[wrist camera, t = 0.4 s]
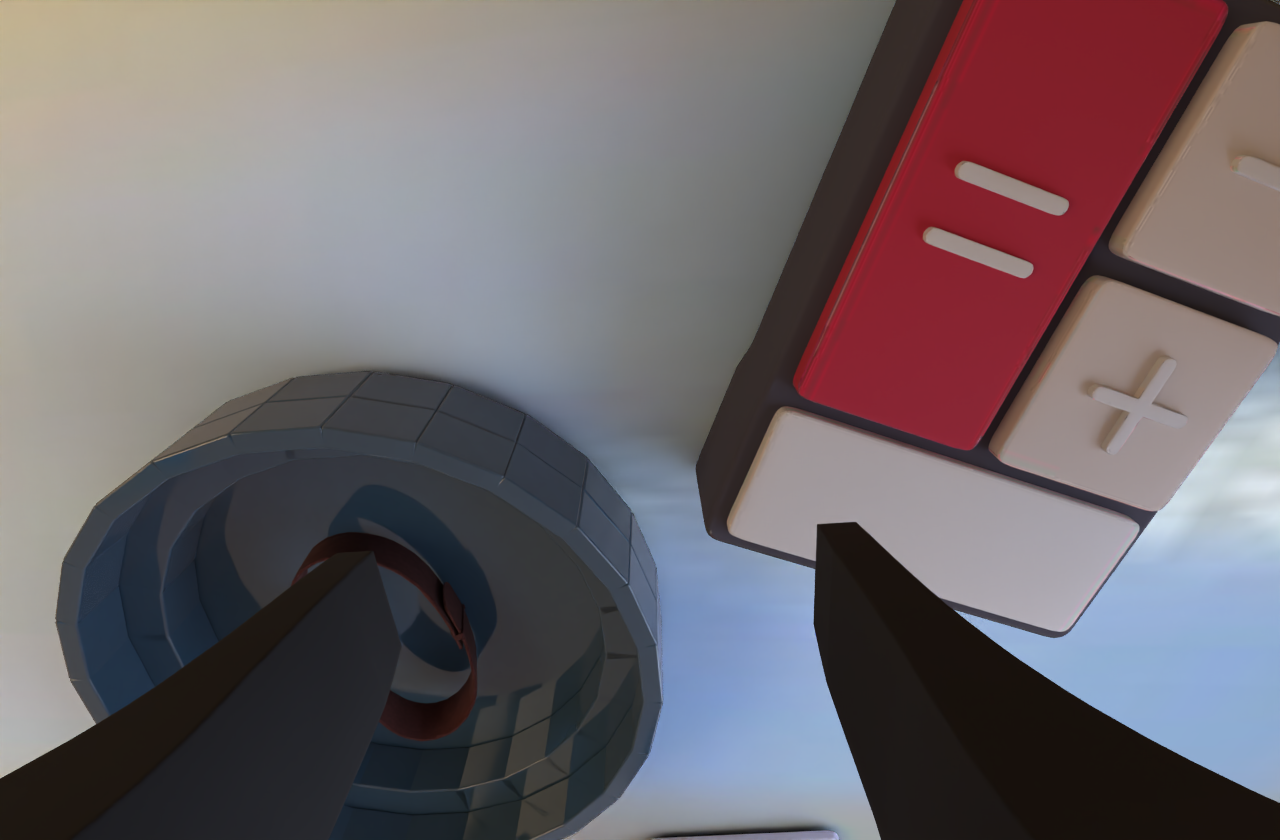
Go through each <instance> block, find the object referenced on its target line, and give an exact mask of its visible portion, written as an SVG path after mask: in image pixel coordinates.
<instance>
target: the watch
mask: <svg viewBox="0 0 1280 840" xmlns="http://www.w3.org/2000/svg"><path fill="white" fill-rule="evenodd" d="M362 551H373V552H374V555H375V558H376V562H377V565H378V566H381V567H383V568H386V569H388V570H391V571H393V572H394V573H396V574H398V575H400V576H402V577H403V578H404V579H406V580H407V581H409V582H410V583H412V584H413V585H414V586H416V587H417V588H418V589H419V590H420V591H421V592H422V594H423V595H424V596H425V597H426V598H427V599H428V601H429V602H430V603H431V604H432V605H433V607H434V608H435V609H436V610H437V612H438V613H439V614H440V615H441V617H442V618H443V620H444V622H445V623H446V625H447V626H448V628H449V629H450V633H451V635H452V637H453V638H454V639H455V641H456V643H457V645H458V647H459V649H463V644H464V646H465V649H466V652H467V655H468V659H469V663H470V667H471V673H470V675H469V677H468V679H467V681H466V683H465V684H464V685H463V686H462V688H461V689H460V690H459V691H458V692H457V693H455V694H454V695H452V696H451V697H449V698H448V699H446V700H443V701H439V702H436V703H418V702H414V701H410V700H407V699H405V698H403V697H401V696H400V695H398V694H396V693H394V692H392V691H391V690H390V692H389V695H388V699H387V702H386V705H385V708H384V710H383V713H382V715H381V718H380V720H379V723H381V724H382V725H383V726H385V727H386V728H387V729H388V730H390V731H391V732H393V733H395V734H396V735H398V736H401V737H403V738H406V739H411V740H417V741H430V740H436V739H439V738H441V737H444V736H447V735H449V734H451V733H452V732H454V731H455V730H457V729H458V728H459V727H460V726H461V725H462V723H463V722H464V721H465V720H466V719H467V717H468V716H469V714H470V712H471V710H472V708H473V706H474V704H475V701H476V697H477V655H476V645H475V640H474V636H473V632H472V629H471V626H470V623H469V620H468V617H467V615H466V612H465V608H466V607H465V605H464V604H461V602H460V600H459V598H458V596H457V595H456V593H455V592H454V590H453V588H452V587H451V585H450V583H448V582H445V583H444V585H443V583H442V582H441V581H440V580H439V578H438V577H437V576H436V575H435V573H434V572H433V571H432V570H431V568H430V567H429V566H428V565H427V564H426V563H425V562H424V561H423V560H422V559H420V558H419V557H418V556H417V555H416V554H415V553H413V552H412V551H410V550H409V549H407V548H406V547H404V546H402V545H401V544H399V543H397V542H395V541H393V540H390V539H388V538H385V537H382V536H378V535H373V534H369V533H359V532H346V533H340V534H336V535H333V536H330V537H327V538H325V539H324V540H322V541H320V542H319V543H318V544H317V545H315V546H314V547H313V548H312V550H311V551H310V553H309V554H308V556H307V557H306V559H305V560H304V562H303V564H302V565H301V567H300V568H299V570H298V572H297V573H296V575H295V577H294V579H293V581H292V583H291V586H292V585H293V584H295V583H296V582H297V581H299V580H300V579H301V578H303V577H304V576H305V575H307V572H308V568H310V567H312V566H313V565H315V564H317V563H320V562H323V561H326V560H327V559H329V558H330V557H332V556H333V555H335V554H336V553H345V552H362Z"/></svg>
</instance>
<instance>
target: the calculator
mask: <svg viewBox="0 0 1280 840" xmlns="http://www.w3.org/2000/svg"><path fill="white" fill-rule="evenodd" d="M1279 343H1280V5H1279V4H1276V3H1274V2H1272V1H1270V0H896V3H895V5H894V7H893V10H892V12H891V14H890V17H889V19H888V22H887V24H886V26H885V29H884V31H883V34H882V36H881V38H880V41H879V43H878V45H877V48H876V50H875V53H874V55H873V57H872V60H871V62H870V64H869V67H868V69H867V72H866V74H865V76H864V79H863V81H862V83H861V86H860V88H859V91H858V93H857V95H856V98H855V100H854V103H853V105H852V107H851V110H850V112H849V114H848V117H847V119H846V122H845V124H844V126H843V129H842V131H841V133H840V136H839V138H838V141H837V143H836V145H835V148H834V150H833V153H832V155H831V157H830V160H829V162H828V164H827V167H826V169H825V172H824V174H823V176H822V179H821V181H820V183H819V186H818V188H817V191H816V193H815V195H814V198H813V200H812V202H811V205H810V207H809V210H808V212H807V214H806V217H805V219H804V222H803V224H802V226H801V229H800V231H799V233H798V236H797V238H796V241H795V243H794V245H793V248H792V250H791V252H790V255H789V257H788V260H787V262H786V264H785V267H784V269H783V272H782V274H781V276H780V279H779V281H778V283H777V286H776V288H775V291H774V293H773V295H772V298H771V300H770V302H769V305H768V307H767V310H766V312H765V314H764V317H763V319H762V322H761V324H760V326H759V329H758V331H757V333H756V336H755V338H754V340H753V343H752V344H751V346H750V348H749V349H748V351H747V352H746V354H745V355H744V357H743V358H742V360H741V362H740V363H739V365H738V366H737V368H736V370H735V373H734V375H733V377H732V380H731V382H730V384H729V387H728V389H727V391H726V394H725V396H724V399H723V401H722V403H721V406H720V408H719V411H718V413H717V415H716V418H715V420H714V423H713V425H712V427H711V430H710V432H709V434H708V437H707V439H706V442H705V444H704V446H703V449H702V451H701V454H700V456H699V459H698V461H697V464H696V475H697V482H698V488H699V494H700V500H701V506H702V512H703V518H704V523H705V528H706V531H707V533H708V534H709V535H710V536H711V537H712V538H714V539H716V540H719V541H722V542H725V543H728V544H732V545H735V546H738V547H742V548H745V549H749V550H752V551H756V552H759V553H762V554H766V555H769V556H773V557H776V558H779V559H783V560H786V561H790V562H793V563H796V564H800V565H803V566H807V567H810V568H814V569H815V568H816V537H817V524H826V523H843V522H857V523H858V524H859V525H860V526H861V527H862V528H863V529H864V530H865V531H867V532H868V533H869V534H870V535H871V536H872V537H873V538H874V539H875V540H876V541H877V542H878V543H879V544H880V545H881V546H882V547H884V548H885V549H886V550H887V551H888V552H889V553H890V554H891V555H892V556H893V557H894V558H895V559H896V560H897V561H898V562H900V563H901V564H902V565H903V566H904V567H905V568H906V569H907V570H908V571H909V572H910V573H912V574H913V575H914V576H915V577H916V578H917V579H918V580H919V581H920V582H922V583H923V584H924V585H925V586H926V587H927V588H928V589H930V590H931V591H932V592H933V593H934V594H935V595H937V596H938V597H939V598H940V599H941V600H942V601H944V602H945V603H946V604H947V605H948V606H949V607H951V608H952V609H953V610H957V611H960V612H964V613H967V614H971V615H974V616H977V617H981V618H984V619H988V620H991V621H994V622H998V623H1001V624H1005V625H1008V626H1011V627H1015V628H1018V629H1022V630H1025V631H1029V632H1032V633H1035V634H1039V635H1042V636H1046V637H1051V638H1058V637H1062V636H1064V635H1066V634H1067V633H1069V632H1070V631H1071V629H1072V628H1073V627H1074V626H1075V624H1076V623H1077V622H1078V620H1079V619H1080V617H1081V616H1082V615H1083V613H1084V612H1085V610H1086V609H1087V608H1088V606H1089V605H1090V604H1091V602H1092V601H1093V599H1094V598H1095V597H1096V595H1097V594H1098V593H1099V591H1100V590H1101V588H1102V587H1103V586H1104V584H1105V583H1106V582H1107V580H1108V579H1109V577H1110V576H1111V575H1112V573H1113V572H1114V571H1115V569H1116V568H1117V566H1118V565H1119V564H1120V562H1121V561H1122V559H1123V558H1124V557H1125V555H1126V554H1127V553H1128V551H1129V550H1130V548H1131V547H1132V546H1133V544H1134V543H1135V542H1136V540H1137V539H1138V537H1139V536H1140V535H1141V533H1142V532H1143V531H1144V529H1145V528H1146V526H1147V525H1148V524H1149V522H1150V521H1151V519H1152V518H1153V517H1154V515H1155V514H1156V513H1157V511H1159V510H1161V509H1162V508H1163V507H1164V506H1165V505H1166V504H1167V503H1168V502H1169V501H1170V499H1171V498H1172V497H1173V495H1174V494H1175V493H1176V491H1177V490H1178V488H1179V487H1180V486H1181V484H1182V483H1183V482H1184V480H1185V479H1186V478H1187V476H1188V475H1189V473H1190V472H1191V471H1192V469H1193V468H1194V467H1195V465H1196V464H1197V462H1198V461H1199V460H1200V458H1201V457H1202V456H1203V454H1204V453H1205V451H1206V450H1207V449H1208V447H1209V446H1210V445H1211V443H1212V442H1213V440H1214V439H1215V438H1216V436H1217V435H1218V434H1219V432H1220V431H1221V429H1222V428H1223V427H1224V425H1225V424H1226V423H1227V421H1228V420H1229V418H1230V417H1231V416H1232V414H1233V413H1234V412H1235V410H1236V409H1237V407H1238V406H1239V405H1240V403H1241V402H1242V401H1243V399H1244V398H1245V397H1246V395H1247V394H1248V392H1249V391H1250V390H1251V388H1252V387H1253V386H1254V384H1255V383H1256V381H1257V380H1258V379H1259V377H1260V376H1261V375H1262V373H1263V372H1264V370H1265V369H1266V368H1267V366H1268V365H1269V364H1270V362H1271V361H1272V359H1273V357H1274V355H1275V354H1276V352H1277V348H1278V344H1279Z"/></svg>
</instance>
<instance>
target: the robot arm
mask: <svg viewBox="0 0 1280 840" xmlns="http://www.w3.org/2000/svg"><path fill="white" fill-rule="evenodd" d="M814 628H815V633H816V637H817V642H818V647H819V651H820V656H821V660H822V665H823V669H824V673H825V677H826V682H827V685H828V688H829V691H830V694H831V697H832V699H833V702H834V705H835V708H836V711H837V714H838V717H839V719H840V722H841V725H842V728H843V731H844V734H845V737H846V739H847V742H848V745H849V748H850V751H851V753H852V756H853V759H854V762H855V765H856V767H857V770H858V773H859V776H860V779H861V781H862V784H863V787H864V790H865V793H866V796H867V798H868V801H869V804H870V807H871V810H872V812H873V815H874V818H875V821H876V824H877V828H878V831H879V834H880V837H881V840H1280V803H1278V802H1276V801H1274V800H1271V799H1269V798H1267V797H1265V796H1263V795H1260V794H1258V793H1256V792H1254V791H1252V790H1250V789H1248V788H1246V787H1244V786H1242V785H1240V784H1237V783H1235V782H1233V781H1231V780H1229V779H1227V778H1225V777H1223V776H1221V775H1219V774H1217V773H1215V772H1213V771H1211V770H1209V769H1207V768H1205V767H1203V766H1201V765H1199V764H1197V763H1194V762H1192V761H1190V760H1188V759H1186V758H1185V757H1183V756H1181V755H1179V754H1177V753H1175V752H1173V751H1171V750H1169V749H1167V748H1165V747H1164V746H1162V745H1160V744H1158V743H1156V742H1154V741H1152V740H1150V739H1148V738H1147V737H1145V736H1143V735H1141V734H1139V733H1138V732H1136V731H1134V730H1132V729H1131V728H1129V727H1127V726H1125V725H1124V724H1122V723H1120V722H1118V721H1117V720H1115V719H1113V718H1111V717H1110V716H1108V715H1106V714H1104V713H1102V712H1101V711H1099V710H1097V709H1095V708H1094V707H1092V706H1090V705H1089V704H1087V703H1085V702H1084V701H1082V700H1081V699H1079V698H1077V697H1076V696H1074V695H1072V694H1071V693H1069V692H1067V691H1066V690H1064V689H1063V688H1061V687H1060V686H1058V685H1057V684H1055V683H1054V682H1052V681H1051V680H1049V679H1048V678H1046V677H1045V676H1043V675H1042V674H1040V673H1039V672H1037V671H1036V670H1034V669H1032V668H1031V667H1029V666H1028V665H1026V664H1025V663H1023V662H1022V661H1020V660H1019V659H1018V658H1016V657H1015V656H1013V655H1012V654H1011V653H1009V652H1008V651H1006V650H1005V649H1003V648H1002V647H1001V646H999V645H998V644H997V643H995V642H994V641H993V640H991V639H990V638H989V637H988V636H986V635H985V634H984V633H982V632H981V631H980V630H978V629H977V628H976V627H974V626H973V625H972V624H971V623H969V622H968V621H967V620H965V619H964V618H963V617H962V616H960V615H959V614H958V613H957V612H955V611H954V610H953V609H952V608H951V607H949V606H948V605H947V604H946V603H945V602H944V601H942V600H941V599H940V598H939V597H938V596H937V595H935V594H934V593H933V592H932V591H931V590H930V589H928V588H927V587H926V586H925V585H924V584H923V583H922V582H920V581H919V580H918V579H917V578H916V577H915V576H914V575H913V574H912V573H910V572H909V571H908V570H907V569H906V568H905V567H904V566H903V565H902V564H901V563H900V562H898V561H897V560H896V559H895V558H894V557H893V556H892V555H891V554H890V553H889V552H888V551H887V550H886V549H885V548H884V547H882V546H881V545H880V544H879V543H878V542H877V541H876V540H875V539H874V538H873V537H872V536H871V535H870V534H869V533H868V532H867V531H865V530H864V529H863V528H862V527H861V526H860V525H859V524H858V523H857V522H843V523H826V524H817V537H816V568H815V598H814ZM401 647H402V645H401V642H400V639H399V635H398V632H397V629H396V625H395V622H394V619H393V615H392V612H391V609H390V605H389V602H388V599H387V595H386V592H385V588H384V585H383V582H382V578H381V575H380V572H379V568H378V565H377V562H376V558H375V555H374V552H373V551H362V552H345V553H336V554H335V555H333V556H332V557H330V558H329V559H327V560H326V561H324V562H323V563H321V564H320V565H319V566H317V567H316V568H315V569H313V570H312V571H311V572H309V573H308V574H307V575H305V576H304V577H303V578H301V579H300V580H299V581H297V582H296V583H295V584H293V585H292V586H291V587H290V588H288V589H287V590H286V591H284V592H283V593H282V594H281V595H279V596H278V597H277V598H275V599H274V600H273V601H272V602H270V603H269V604H268V605H266V606H265V607H264V608H262V609H261V610H260V611H258V612H257V613H256V614H255V615H253V616H252V617H251V618H249V619H248V620H247V621H245V622H244V623H243V624H242V625H240V626H239V627H238V628H236V629H235V630H234V631H232V632H231V633H230V634H228V635H227V636H226V637H224V638H223V639H222V640H220V641H219V642H217V643H216V644H215V645H213V646H212V647H210V648H209V649H208V650H206V651H205V652H203V653H202V654H201V655H199V656H198V657H196V658H195V659H194V660H192V661H191V662H190V663H188V664H187V665H185V666H184V667H183V668H181V669H180V670H178V671H177V672H176V673H174V674H173V675H171V676H170V677H169V678H167V679H166V680H164V681H163V682H161V683H160V684H158V685H157V686H156V687H154V688H153V689H151V690H150V691H148V692H147V693H145V694H144V695H142V696H140V697H139V698H137V699H136V700H134V701H133V702H131V703H130V704H128V705H127V706H125V707H123V708H122V709H120V710H119V711H117V712H115V713H114V714H112V715H110V716H109V717H107V718H106V719H104V720H102V721H101V722H99V723H98V724H96V725H94V726H93V727H91V728H89V729H88V730H86V731H85V732H83V733H81V734H79V735H78V736H76V737H74V738H73V739H71V740H69V741H68V742H66V743H64V744H62V745H60V746H59V747H57V748H55V749H53V750H51V751H50V752H48V753H46V754H44V755H42V756H40V757H39V758H37V759H35V760H33V761H31V762H30V763H28V764H26V765H24V766H22V767H20V768H19V769H17V770H15V771H13V772H11V773H10V774H8V775H6V776H4V777H2V778H1V779H0V840H329V838H330V835H331V833H332V831H333V828H334V826H335V824H336V821H337V819H338V817H339V814H340V812H341V810H342V807H343V805H344V803H345V800H346V798H347V796H348V793H349V791H350V789H351V786H352V784H353V782H354V779H355V777H356V775H357V772H358V770H359V768H360V765H361V763H362V761H363V758H364V756H365V754H366V751H367V749H368V747H369V744H370V742H371V739H372V737H373V735H374V732H375V730H376V727H377V725H378V723H379V720H380V718H381V715H382V713H383V710H384V708H385V705H386V702H387V699H388V695H389V692H390V689H391V685H392V682H393V678H394V675H395V671H396V667H397V663H398V659H399V655H400V651H401ZM651 840H839V837H838V835H837V834H836V833H835V832H833V831H829V830H822V831H801V832H779V833H757V834H735V835H713V836H691V837H669V838H654V839H651Z"/></svg>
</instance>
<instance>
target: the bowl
mask: <svg viewBox="0 0 1280 840" xmlns="http://www.w3.org/2000/svg"><path fill="white" fill-rule="evenodd" d="M346 532H359V533H369V534H373V535H378V536H382V537H385V538H388V539H390V540H393V541H395V542H397V543H399V544H401V545H402V546H404V547H406V548H407V549H409V550H410V551H412V552H413V553H415V554H416V555H417V556H418V557H419V558H420V559H422V560H423V561H424V562H425V563H426V564H427V565H428V566H429V567H430V568H431V570H432V571H433V572H434V573H435V575H436V576H437V577H438V578H439V580H440V581H441V582H442V583H443V585H444V583H445V582H448V583H450V585H451V587H452V588H453V590H454V592H455V593H456V595H457V596H458V598H459V600H460V602H461V604H464V605H465V607H466V608H465V612H466V615H467V617H468V620H469V623H470V626H471V629H472V632H473V636H474V640H475V645H476V655H477V697H476V701H475V704H474V706H473V708H472V710H471V712H470V714H469V716H468V717H467V719H466V720H465V721H464V722H463V723H462V725H461V726H460V727H459V728H458V729H457V730H455V731H454V732H452V733H451V734H449V735H447V736H444V737H441V738H439V739H436V740H430V741H417V740H411V739H406V738H403V737H401V736H398V735H396V734H395V733H393V732H391V731H390V730H388V729H387V728H386V727H385V726H383V725H382V724H381V723H378V725H377V727H376V730H375V732H374V735H373V737H372V739H371V742H370V744H369V747H368V749H367V751H366V754H365V756H364V758H363V761H362V763H361V765H360V768H359V770H358V772H357V775H356V777H355V779H354V782H353V784H352V786H351V789H350V791H349V793H348V796H347V798H346V800H345V803H344V805H343V807H342V810H341V812H340V814H339V817H338V819H337V821H336V824H335V826H334V828H333V831H332V833H331V835H330V838H329V840H562V839H564V838H566V837H568V836H571V835H573V834H575V832H578V831H579V830H581V829H582V828H583V827H584V826H586V825H587V824H588V823H589V822H591V821H592V820H593V819H595V818H596V817H597V816H598V815H600V814H601V813H602V812H603V811H605V810H606V809H607V808H608V807H610V806H611V805H612V804H613V803H615V802H616V801H617V800H618V799H619V798H620V797H621V795H622V794H623V793H624V791H625V790H626V788H627V787H628V785H629V784H630V782H631V781H632V779H633V778H634V777H635V775H636V774H637V772H638V771H639V769H640V768H641V766H642V765H643V763H644V762H645V760H646V759H647V758H648V756H649V753H650V751H651V747H652V743H653V739H654V736H655V732H656V728H657V724H658V720H659V717H660V713H661V709H662V705H663V665H662V621H661V609H660V598H659V588H658V578H657V568H656V566H655V562H654V560H653V558H652V555H651V553H650V551H649V549H648V546H647V544H646V542H645V540H644V537H643V535H642V533H641V530H640V528H639V526H638V524H637V521H636V519H635V517H634V515H633V513H632V512H631V510H630V508H629V507H628V506H627V504H626V503H625V502H624V501H623V500H622V499H621V497H620V496H619V495H618V494H617V493H616V491H615V490H614V489H613V488H612V487H611V485H610V484H609V483H608V482H607V481H606V479H605V478H604V477H603V476H602V475H601V473H600V472H599V471H598V470H597V469H596V467H595V466H594V465H593V464H592V463H591V461H590V460H588V459H587V457H586V456H585V455H583V454H582V453H581V452H579V451H578V450H576V449H575V448H574V447H572V446H571V445H570V444H568V443H567V442H565V441H564V440H563V439H561V438H560V437H558V436H557V435H556V434H554V433H553V432H551V431H550V430H549V429H547V428H546V427H544V426H543V425H542V424H540V423H539V422H537V421H536V420H535V419H533V418H532V417H531V416H529V415H525V414H524V413H522V412H520V411H517V410H515V409H512V408H510V407H508V406H505V405H503V404H500V403H498V402H495V401H493V400H490V399H488V398H486V397H483V396H481V395H478V394H476V393H473V392H471V391H469V390H466V389H464V388H461V387H459V386H456V385H453V386H452V385H451V384H450V383H444V382H438V381H431V380H425V379H419V378H413V377H407V376H401V375H394V374H388V373H382V372H372V371H363V372H350V373H338V374H325V375H313V376H300V377H296V378H290V379H288V380H285V381H282V382H279V383H277V384H274V385H271V386H268V387H266V388H263V389H260V390H257V391H255V392H252V393H249V394H246V395H244V396H241V397H238V398H235V399H233V400H230V401H228V402H226V403H225V404H223V405H222V406H221V407H220V408H218V409H217V410H216V411H214V412H213V413H212V414H211V415H209V416H208V417H207V418H205V419H204V420H203V421H202V422H200V423H199V424H198V425H196V426H195V427H194V428H193V429H191V430H190V431H189V432H187V433H186V434H185V435H184V436H182V437H181V438H180V439H178V440H177V441H176V442H174V443H173V444H172V445H171V446H169V447H168V448H167V449H165V450H164V451H163V452H162V453H160V454H159V455H158V456H156V457H155V458H154V459H153V460H151V461H150V462H149V463H147V464H146V465H145V466H144V467H142V468H141V469H140V470H138V471H137V472H136V473H135V474H133V475H132V476H131V477H130V478H128V479H127V480H126V481H124V482H123V483H122V484H121V485H119V486H118V487H117V488H115V489H114V490H113V491H112V492H110V493H109V494H108V495H106V496H105V497H104V498H103V499H101V500H100V501H99V502H97V503H96V505H95V506H94V507H93V509H92V511H91V512H90V514H89V516H88V517H87V519H86V521H85V523H84V524H83V526H82V528H81V529H80V531H79V533H78V535H77V536H76V538H75V540H74V541H73V543H72V545H71V547H70V548H69V550H68V552H67V553H66V555H65V557H64V559H63V560H64V561H63V562H62V568H61V576H60V584H59V592H58V600H57V609H56V617H55V619H56V622H55V623H56V627H57V631H58V635H59V639H60V643H61V647H62V651H63V655H64V659H65V663H66V667H67V671H68V675H69V678H70V681H71V683H72V685H73V686H74V688H75V690H76V691H77V693H78V695H79V696H80V698H81V700H82V701H83V703H84V705H85V706H86V708H87V710H88V711H89V713H90V715H91V716H92V718H93V720H94V721H95V723H96V724H98V723H99V722H101V721H102V720H104V719H106V718H107V717H109V716H110V715H112V714H114V713H115V712H117V711H119V710H120V709H122V708H123V707H125V706H127V705H128V704H130V703H131V702H133V701H134V700H136V699H137V698H139V697H140V696H142V695H144V694H145V693H147V692H148V691H150V690H151V689H153V688H154V687H156V686H157V685H158V684H160V683H161V682H163V681H164V680H166V679H167V678H169V677H170V676H171V675H173V674H174V673H176V672H177V671H178V670H180V669H181V668H183V667H184V666H185V665H187V664H188V663H190V662H191V661H192V660H194V659H195V658H196V657H198V656H199V655H201V654H202V653H203V652H205V651H206V650H208V649H209V648H210V647H212V646H213V645H215V644H216V643H217V642H219V641H220V640H222V639H223V638H224V637H226V636H227V635H228V634H230V633H231V632H232V631H234V630H235V629H236V628H238V627H239V626H240V625H242V624H243V623H244V622H245V621H247V620H248V619H249V618H251V617H252V616H253V615H255V614H256V613H257V612H258V611H260V610H261V609H262V608H264V607H265V606H266V605H268V604H269V603H270V602H272V601H273V600H274V599H275V598H277V597H278V596H279V595H281V594H282V593H283V592H284V591H286V590H287V589H288V588H290V587H291V583H292V581H293V579H294V577H295V575H296V573H297V572H298V570H299V568H300V567H301V565H302V564H303V562H304V560H305V559H306V557H307V556H308V554H309V553H310V551H311V550H312V548H313V547H314V546H315V545H317V544H318V543H319V542H320V541H322V540H324V539H325V538H327V537H330V536H333V535H336V534H340V533H346ZM323 562H324V561H323ZM323 562H320V563H317V564H315V565H313V566H312V567H310V568H308V572H307V574H308V573H309V572H311V571H312V570H313V569H315V568H316V567H317V566H319V565H320V564H321V563H323ZM378 568H379V572H380V575H381V578H382V582H383V585H384V588H385V592H386V595H387V599H388V602H389V605H390V609H391V612H392V615H393V619H394V622H395V625H396V629H397V632H398V635H399V639H400V642H401V645H402V647H401V651H400V655H399V659H398V663H397V667H396V671H395V675H394V678H393V682H392V685H391V689H390V690H391V691H392V692H394V693H396V694H398V695H400V696H401V697H403V698H405V699H407V700H410V701H414V702H418V703H436V702H439V701H443V700H446V699H448V698H449V697H451V696H452V695H454V694H455V693H457V692H458V691H459V690H460V689H461V688H462V686H463V685H464V684H465V683H466V681H467V679H468V677H469V675H470V673H471V667H470V663H469V659H468V655H467V652H466V649H465V646H464V644H463V649H459V647H458V645H457V643H456V641H455V639H454V638H453V637H452V635H451V633H450V629H449V628H448V626H447V625H446V623H445V622H444V620H443V618H442V617H441V615H440V614H439V613H438V612H437V610H436V609H435V608H434V607H433V605H432V604H431V603H430V602H429V601H428V599H427V598H426V597H425V596H424V595H423V594H422V592H421V591H420V590H419V589H418V588H417V587H416V586H414V585H413V584H412V583H410V582H409V581H407V580H406V579H404V578H403V577H402V576H400V575H398V574H396V573H394V572H393V571H391V570H388V569H386V568H383V567H381V566H378Z"/></svg>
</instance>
